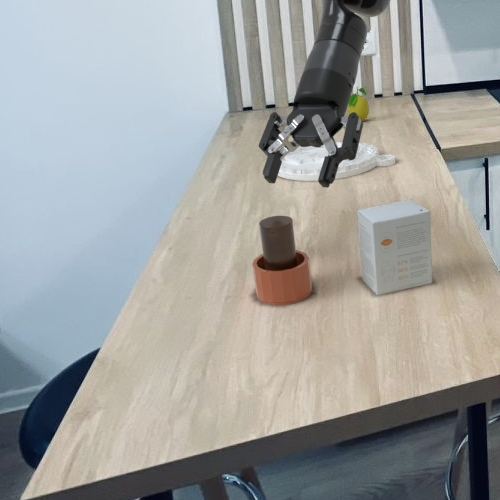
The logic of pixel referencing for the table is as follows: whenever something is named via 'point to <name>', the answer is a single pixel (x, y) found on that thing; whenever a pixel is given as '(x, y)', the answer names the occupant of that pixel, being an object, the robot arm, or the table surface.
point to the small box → (395, 246)
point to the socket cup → (283, 281)
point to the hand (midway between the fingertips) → (295, 183)
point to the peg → (278, 243)
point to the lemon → (359, 105)
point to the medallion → (311, 160)
